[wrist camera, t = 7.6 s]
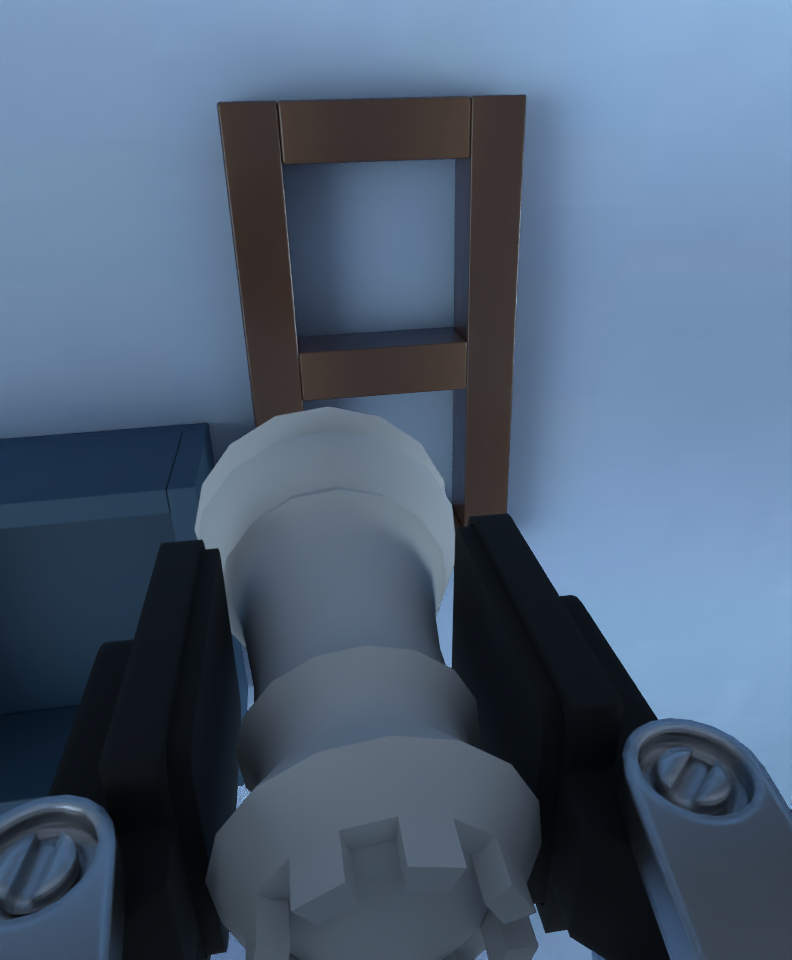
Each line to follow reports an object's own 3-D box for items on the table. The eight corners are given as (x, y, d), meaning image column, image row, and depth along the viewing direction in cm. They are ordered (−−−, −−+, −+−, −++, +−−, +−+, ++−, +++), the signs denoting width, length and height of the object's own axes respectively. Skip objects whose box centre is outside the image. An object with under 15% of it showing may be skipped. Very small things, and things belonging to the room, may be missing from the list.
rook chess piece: (380, 637, 15) (492, 1117, 8) (161, 574, 13) (49, 1097, 6) (485, 450, 13) (745, 831, 6) (251, 355, 12) (241, 714, 5)
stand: (506, 97, 22) (527, 94, 20) (490, 536, 29) (504, 562, 27) (221, 104, 21) (216, 101, 19) (274, 558, 28) (274, 588, 26)
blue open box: (208, 422, 25) (194, 487, 21) (248, 688, 30) (244, 785, 26) (-167, 452, 24) (-270, 528, 19) (-57, 726, 29) (-118, 837, 24)
